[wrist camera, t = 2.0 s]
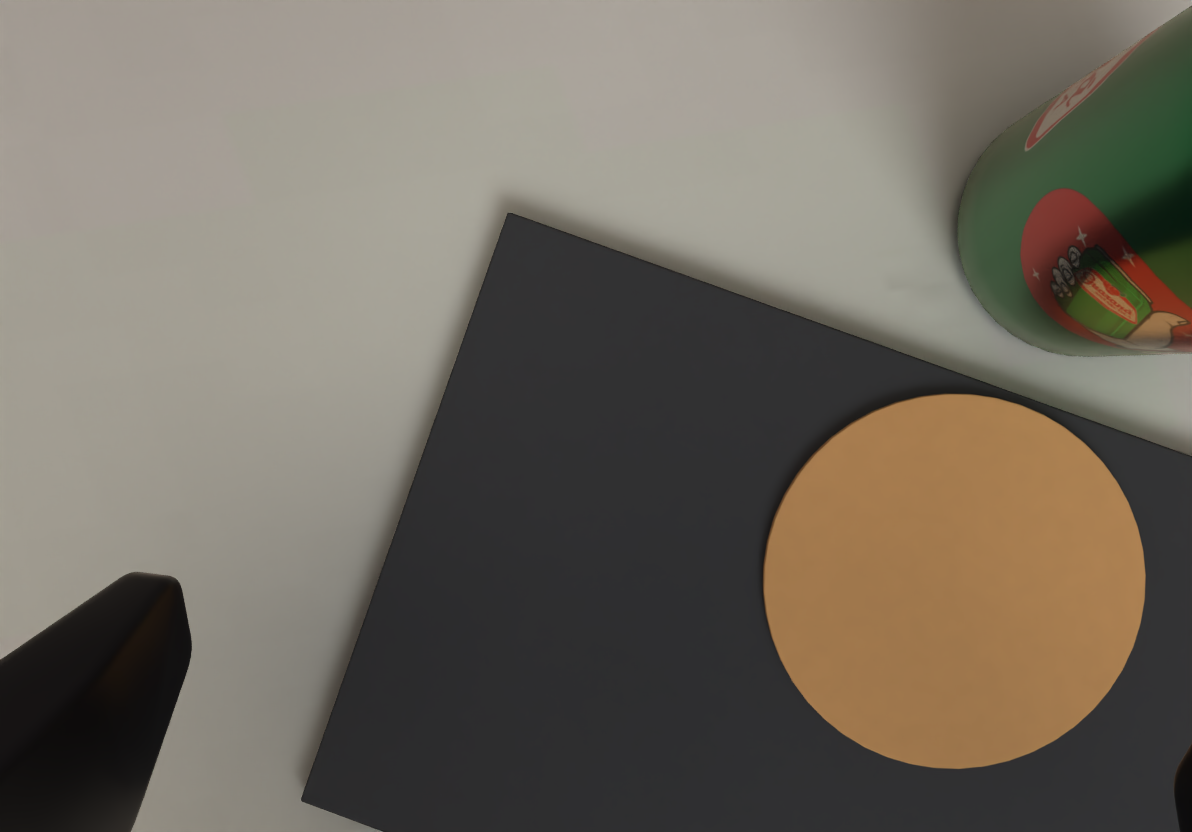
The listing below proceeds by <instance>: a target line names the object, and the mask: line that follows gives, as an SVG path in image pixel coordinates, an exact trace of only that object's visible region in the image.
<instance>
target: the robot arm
mask: <svg viewBox="0 0 1192 832" xmlns="http://www.w3.org/2000/svg"><path fill="white" fill-rule="evenodd" d="M191 651H192V641H191V634H190V629H189V624H188V618H187V613H186V608H185V602H184V597H183V592H182V588H181V585H180V583H179V582H178V580H177V579H176V578H174V577H171V576H167V575H159V574H151V573H143V572H132V573H129V574H126V575H124V576H122V577H121V578H119V579H118V580H116V581H115V582H113V583H112V584H110V585H109V586H108V587H106V588H105V589H103V590H102V591H100V592H99V593H97V594H96V595H94V596H93V597H91V598H90V599H89V600H87V601H86V602H84V603H83V604H81V605H80V606H78V607H77V608H75V609H74V610H72V611H71V612H70V613H68V614H67V615H65V616H64V617H62V618H61V619H59V620H58V621H56V622H55V623H53V624H52V625H51V626H49V627H48V628H46V629H45V630H43V631H42V632H40V633H39V634H37V635H36V636H34V637H33V638H32V639H30V640H29V641H27V642H26V643H24V644H23V645H21V646H20V647H18V648H17V649H15V650H14V651H13V652H11V653H10V654H8V655H7V656H5V657H4V658H2V659H1V660H0V832H131V830H132V827H133V825H134V823H135V820H136V817H137V815H138V812H139V809H140V807H141V804H142V801H143V798H144V796H145V793H146V790H147V787H148V784H149V781H150V778H151V775H152V772H153V769H154V766H155V763H156V761H157V758H158V755H159V752H160V749H161V746H162V743H163V740H164V737H165V734H166V731H167V728H168V726H169V723H170V720H171V717H172V714H173V711H174V708H175V705H176V702H177V699H178V696H179V693H180V690H181V688H182V685H183V682H184V679H185V676H186V673H187V670H188V667H189V663H190V658H191ZM1174 799H1175V805H1176V811H1177V817H1178V823H1179V829H1180V832H1192V744H1191V745H1190V747H1189V749H1188V750H1187V752H1186V754H1185V755H1184V757H1183V759H1182V760H1181V762H1180V764H1179V766H1178V768H1177V770H1176V774H1175V778H1174Z"/></svg>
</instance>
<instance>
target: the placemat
mask: <svg viewBox="0 0 1192 832" xmlns="http://www.w3.org/2000/svg"><path fill="white" fill-rule="evenodd" d="M1191 744H1192V456H1189V455H1186V454H1183V453H1181V452H1178V451H1175V450H1172V449H1169V448H1167V447H1164V446H1161V445H1158V444H1155V443H1153V442H1150V441H1147V440H1144V439H1142V438H1139V437H1136V436H1133V435H1130V434H1128V433H1125V432H1122V431H1119V430H1116V429H1114V428H1111V427H1108V426H1105V425H1102V424H1100V423H1097V422H1094V421H1091V420H1088V419H1086V418H1083V417H1080V416H1077V415H1074V414H1072V413H1069V412H1066V411H1063V410H1061V409H1058V408H1055V407H1052V406H1049V405H1047V404H1044V403H1041V402H1038V401H1035V400H1033V399H1030V398H1027V397H1024V396H1021V395H1019V394H1016V393H1013V392H1010V391H1007V390H1005V389H1002V388H999V387H996V386H993V385H991V384H988V383H985V382H982V381H980V380H977V379H974V378H971V377H968V376H966V375H963V374H960V373H957V372H954V371H952V370H949V369H946V368H943V367H940V366H938V365H935V364H932V363H929V362H926V361H924V360H921V359H918V358H915V357H912V356H910V355H907V354H904V353H901V352H898V351H896V350H893V349H890V348H887V347H885V346H882V345H879V344H876V343H873V342H871V341H868V340H865V339H862V338H859V337H857V336H854V335H851V334H848V333H845V332H843V331H840V330H837V329H834V328H831V327H829V326H826V325H823V324H820V323H817V322H815V321H812V320H809V319H806V318H804V317H801V316H798V315H795V314H792V313H790V312H787V311H784V310H781V309H778V308H776V307H773V306H770V305H767V304H764V303H762V302H759V301H756V300H753V299H750V298H748V297H745V296H742V295H739V294H736V293H734V292H731V291H728V290H725V289H723V288H720V287H717V286H714V285H711V284H709V283H706V282H703V281H700V280H697V279H695V278H692V277H689V276H686V275H683V274H681V273H678V272H675V271H672V270H669V269H667V268H664V267H661V266H658V265H655V264H653V263H650V262H647V261H644V260H642V259H639V258H636V257H633V256H630V255H628V254H625V253H622V252H619V251H616V250H614V249H611V248H608V247H605V246H602V245H600V244H597V243H594V242H591V241H588V240H586V239H583V238H580V237H577V236H574V235H572V234H569V233H566V232H563V231H561V230H558V229H555V228H552V227H549V226H547V225H544V224H541V223H538V222H535V221H533V220H530V219H527V218H524V217H521V216H519V215H516V214H513V213H508V214H507V216H506V219H505V222H504V225H503V228H502V230H501V233H500V236H499V239H498V242H497V245H496V247H495V250H494V253H493V256H492V259H491V262H490V264H489V267H488V270H487V273H486V276H485V279H484V281H483V284H482V287H481V290H480V293H479V296H478V298H477V301H476V304H475V307H474V310H473V313H472V315H471V318H470V321H469V324H468V327H467V330H466V333H465V335H464V338H463V341H462V344H461V347H460V350H459V352H458V355H457V358H456V361H455V364H454V367H453V369H452V372H451V375H450V378H449V381H448V384H447V386H446V389H445V392H444V395H443V398H442V401H441V403H440V406H439V409H438V412H437V415H436V418H435V420H434V423H433V426H432V429H431V432H430V435H429V437H428V440H427V443H426V446H425V449H424V452H423V454H422V457H421V460H420V463H419V466H418V469H417V471H416V474H415V477H414V480H413V483H412V486H411V488H410V491H409V494H408V497H407V500H406V503H405V505H404V508H403V511H402V514H401V517H400V520H399V522H398V525H397V528H396V531H395V534H394V537H393V539H392V542H391V545H390V548H389V551H388V554H387V556H386V559H385V562H384V565H383V568H382V571H381V573H380V576H379V579H378V582H377V585H376V588H375V590H374V593H373V596H372V599H371V602H370V605H369V607H368V610H367V613H366V616H365V619H364V622H363V625H362V627H361V630H360V633H359V636H358V639H357V642H356V644H355V647H354V650H353V653H352V656H351V659H350V661H349V664H348V667H347V670H346V673H345V676H344V678H343V681H342V684H341V687H340V690H339V693H338V695H337V698H336V701H335V704H334V707H333V710H332V712H331V715H330V718H329V721H328V724H327V727H326V729H325V732H324V735H323V738H322V741H321V744H320V746H319V749H318V752H317V755H316V758H315V761H314V763H313V766H312V769H311V772H310V775H309V778H308V780H307V783H306V786H305V789H304V792H303V795H302V797H301V801H302V802H305V803H308V804H310V805H313V806H316V807H319V808H321V809H324V810H327V811H329V812H332V813H335V814H337V815H340V816H343V817H345V818H348V819H351V820H353V821H356V822H359V823H361V824H364V825H367V826H370V827H372V828H375V829H378V830H380V831H383V832H1180V829H1179V823H1178V817H1177V811H1176V805H1175V799H1174V778H1175V774H1176V770H1177V768H1178V766H1179V764H1180V762H1181V760H1182V759H1183V757H1184V755H1185V754H1186V752H1187V750H1188V749H1189V747H1190V745H1191Z"/></svg>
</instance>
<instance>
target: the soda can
mask: <svg viewBox="0 0 1192 832" xmlns="http://www.w3.org/2000/svg"><path fill="white" fill-rule="evenodd" d="M957 236H958V246H959V254H960V258H961V262H962V266H963V270H964V273H965V275H966V278H967V280H968V282H969V284H970V287H971V289H972V291H973V293H974V294H975V296H976V297H977V299H978V300H979V302H980V303H981V305H982V306H983V308H984V309H985V310H986V311H987V312H988V313H989V314H990V316H991V317H992V318H993V319H994V320H995V321H996V322H997V323H998V324H999V325H1001V326H1002V327H1003V328H1004V329H1006V330H1007V331H1008V332H1009V333H1011V334H1012V335H1014V336H1015V337H1017V338H1019V339H1021V340H1022V341H1024V342H1026V343H1028V344H1029V345H1032V346H1034V347H1037V348H1040V349H1043V350H1045V351H1048V352H1052V353H1057V354H1062V355H1067V356H1083V357H1098V356H1130V355H1161V354H1192V6H1190V7H1189V8H1187V9H1186V10H1184V11H1183V12H1181V13H1180V14H1178V15H1177V16H1175V17H1174V18H1172V19H1171V20H1169V21H1168V22H1166V23H1165V24H1163V25H1162V26H1160V27H1159V28H1157V29H1156V30H1154V31H1153V32H1151V33H1150V34H1148V35H1147V36H1145V37H1144V38H1142V39H1141V40H1139V41H1138V42H1136V43H1135V44H1133V45H1132V46H1130V47H1129V48H1127V49H1125V50H1124V51H1122V52H1121V53H1119V54H1118V55H1116V56H1115V57H1113V58H1112V59H1110V60H1109V61H1107V62H1106V63H1104V64H1103V65H1101V66H1100V67H1098V68H1097V69H1095V70H1094V71H1092V72H1091V73H1089V74H1088V75H1086V76H1085V77H1083V78H1082V79H1080V80H1079V81H1077V82H1076V83H1074V84H1073V85H1071V86H1070V87H1068V88H1067V89H1065V90H1064V91H1062V92H1061V93H1059V94H1058V95H1056V96H1055V97H1053V98H1052V99H1050V100H1049V101H1047V102H1046V103H1044V104H1043V105H1041V106H1040V107H1038V108H1037V109H1035V110H1034V111H1032V112H1031V113H1029V114H1028V115H1026V116H1025V117H1023V118H1022V119H1020V120H1019V121H1017V122H1016V123H1014V124H1013V125H1011V126H1010V127H1008V128H1007V129H1006V130H1005V131H1004V132H1003V133H1002V134H1000V135H999V136H998V137H997V138H996V139H995V140H994V141H993V142H992V143H991V144H990V146H989V147H988V148H987V149H986V151H985V152H984V153H983V154H982V156H981V157H980V158H979V160H978V162H977V164H976V165H975V167H974V169H973V170H972V172H971V174H970V176H969V179H968V181H967V184H966V186H965V189H964V192H963V195H962V199H961V204H960V208H959V213H958V229H957Z"/></svg>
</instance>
